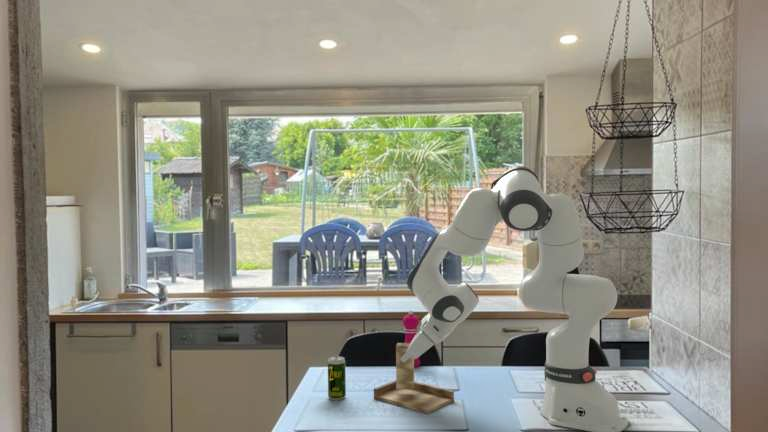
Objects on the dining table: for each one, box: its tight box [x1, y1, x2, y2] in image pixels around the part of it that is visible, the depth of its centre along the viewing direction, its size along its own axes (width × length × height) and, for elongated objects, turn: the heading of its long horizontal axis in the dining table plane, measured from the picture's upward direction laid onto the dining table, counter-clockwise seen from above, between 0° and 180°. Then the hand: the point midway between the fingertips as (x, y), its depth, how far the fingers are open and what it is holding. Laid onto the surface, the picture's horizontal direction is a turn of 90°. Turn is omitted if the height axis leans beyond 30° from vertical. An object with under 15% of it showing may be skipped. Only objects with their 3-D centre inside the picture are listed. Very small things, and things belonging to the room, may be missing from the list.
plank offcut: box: [395, 342, 415, 389], centre depth 170 cm, size 5×4×13 cm
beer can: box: [327, 356, 347, 401], centre depth 171 cm, size 5×5×12 cm
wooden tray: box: [373, 379, 455, 415], centre depth 168 cm, size 20×13×3 cm, turn 49°
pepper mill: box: [402, 310, 421, 368], centre depth 205 cm, size 7×7×20 cm
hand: (403, 358), depth 170 cm, fingers closed on plank offcut, 3 cm apart
